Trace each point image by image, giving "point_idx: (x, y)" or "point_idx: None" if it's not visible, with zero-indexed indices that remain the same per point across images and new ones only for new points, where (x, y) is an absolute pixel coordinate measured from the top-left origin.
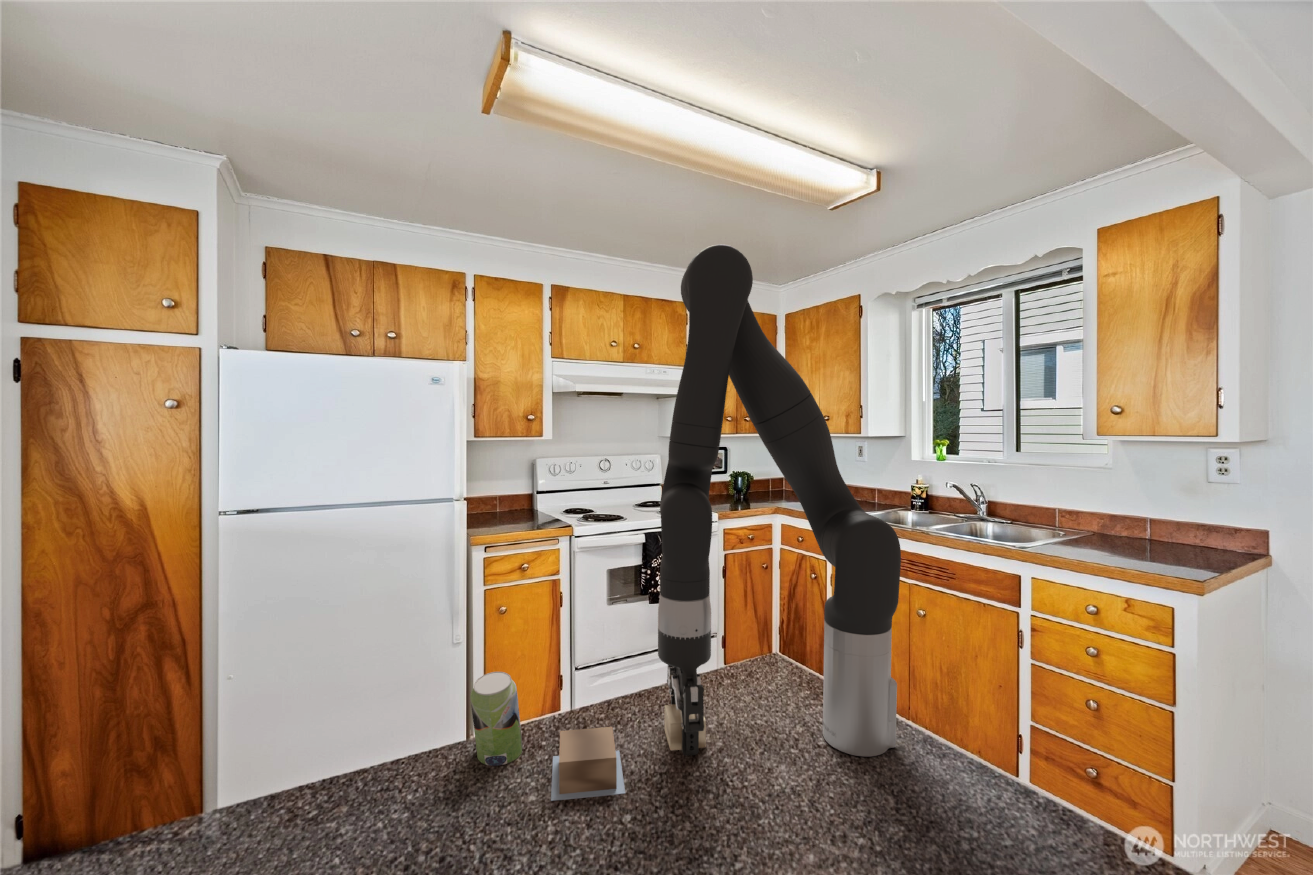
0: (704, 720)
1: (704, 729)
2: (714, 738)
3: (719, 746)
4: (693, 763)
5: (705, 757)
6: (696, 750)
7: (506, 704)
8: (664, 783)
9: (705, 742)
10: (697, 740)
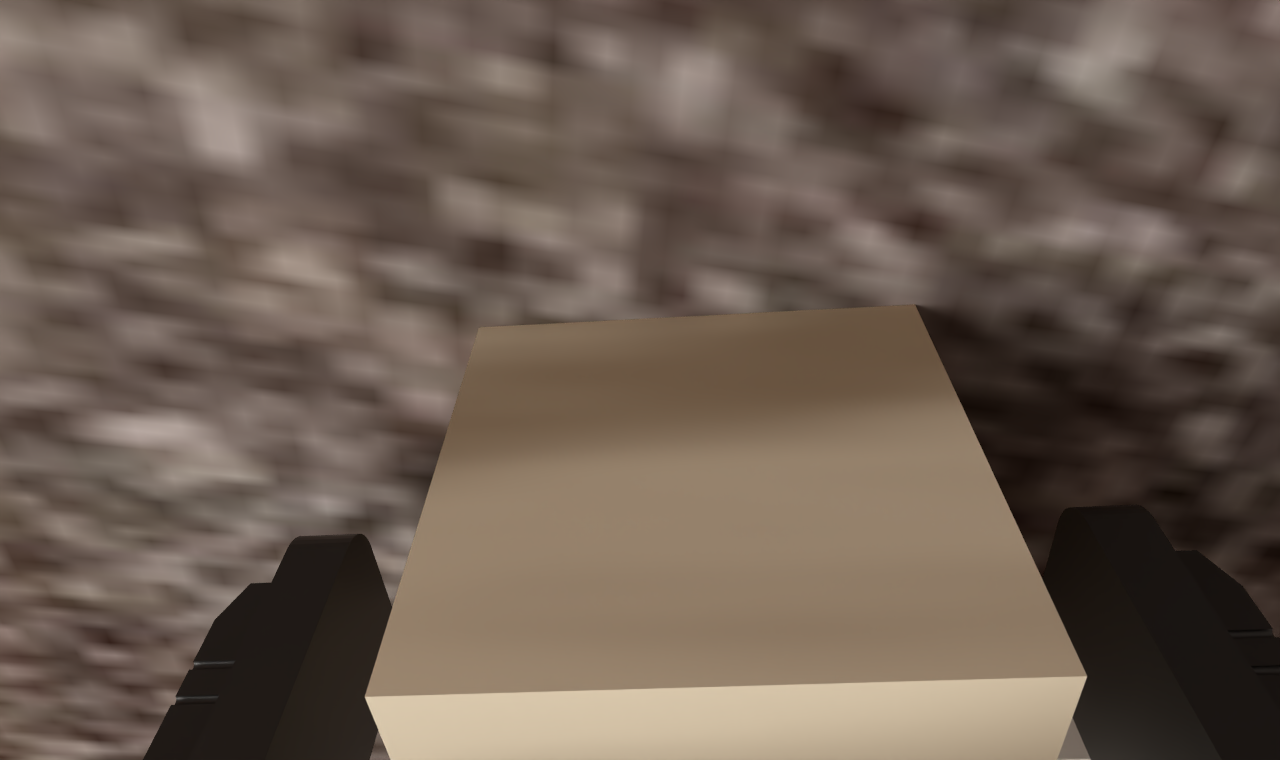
0: (1070, 690)
1: (1018, 556)
2: (560, 136)
3: (765, 102)
4: (1027, 441)
5: (961, 314)
6: (1235, 583)
7: None
8: None
9: (958, 403)
10: (1220, 643)
